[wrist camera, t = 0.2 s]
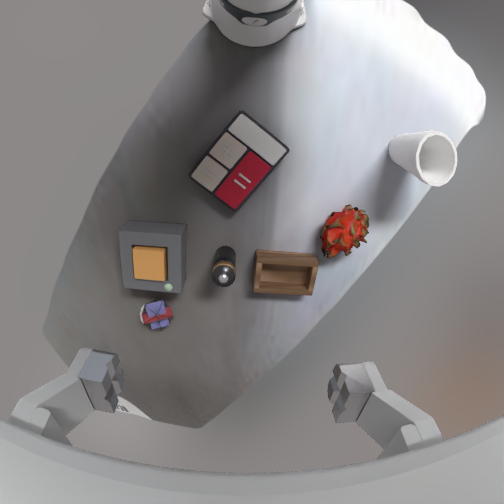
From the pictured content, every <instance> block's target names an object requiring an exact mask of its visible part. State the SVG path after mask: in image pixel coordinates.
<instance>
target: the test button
mask: <svg viewBox="0 0 504 504" xmlns="http://www.w3.org/2000/svg"><path fill="white" fill-rule="evenodd" d="M132 251H133V265H134V277H135V278H136V279H146V280H157V281H165V279H166V277H167V275H168V259H167V247H158V246H145V245H135V247H134V248H133V249H132Z"/></svg>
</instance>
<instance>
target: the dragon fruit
mask: <svg viewBox="0 0 504 504" xmlns="http://www.w3.org/2000/svg"><path fill="white" fill-rule="evenodd" d="M351 207H352V206H351V205H346V206H345V208H344V209H343V211H342V212H332V214H331V217H330V218H328V219H327V220H326V223H325V226H324V229H323V232H322V234H321V236H320V238H322V252H323V253H324V254H323V255H324V257H325V253H326V252H328V251H329V253H327V255H328V256H327V258H332V257H334V256H335V255H336V254H338V253H339V252H340V251H342V250H343V251H344V252H345V255H346V256H347V255H349V254H350V253H351V252H350V250H351V248H352V247H353V246H355V247H356V248H358V247H360V243H359V241H362V242H365V243H367V241H366V240H365V239H364V237H365V236H366V235H367V234H368V233H369V232H368V230H367V228H368V227H369V217H367V215H366V214H361V213H362V212H365V211H363V210H358V208H357V207H355V208H352V209H351ZM366 218H367V219H366Z"/></svg>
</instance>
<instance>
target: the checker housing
mask: <svg viewBox="0 0 504 504" xmlns="http://www.w3.org/2000/svg"><path fill="white" fill-rule="evenodd" d="M186 229H187V224H177V223H161V222H145V221H128V222H127V223H126V224H125V225H124V226H123V227H122V228H121V229H120V230H119V231H118V233H119V247H120V259H121V269H122V278H123V287H124V288H131V289H140V290H150V291H160V292H171V293H182V290H183V287H184V283H185V280H186ZM135 245H145V246H158V247H167V259H168V275H167V277H166V279H165V281H157V280H146V279H136V278H135V277H134V265H133V251H132V249H133V248H134V247H135Z"/></svg>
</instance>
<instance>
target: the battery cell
mask: <svg viewBox="0 0 504 504" xmlns="http://www.w3.org/2000/svg"><path fill="white" fill-rule="evenodd" d="M235 259H236V254H235V251H234V250H233V249H232V248H231V247H228V246H223V247H220V248H219V249H218V250H217V251H216V255H215V261H214V267H213V272H212V279H213V281H214V283H215V284H217V285H218V286H221V287H227V286H230V285H231V284H232V283H233V282H234V280H235V273H236V270H235Z"/></svg>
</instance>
